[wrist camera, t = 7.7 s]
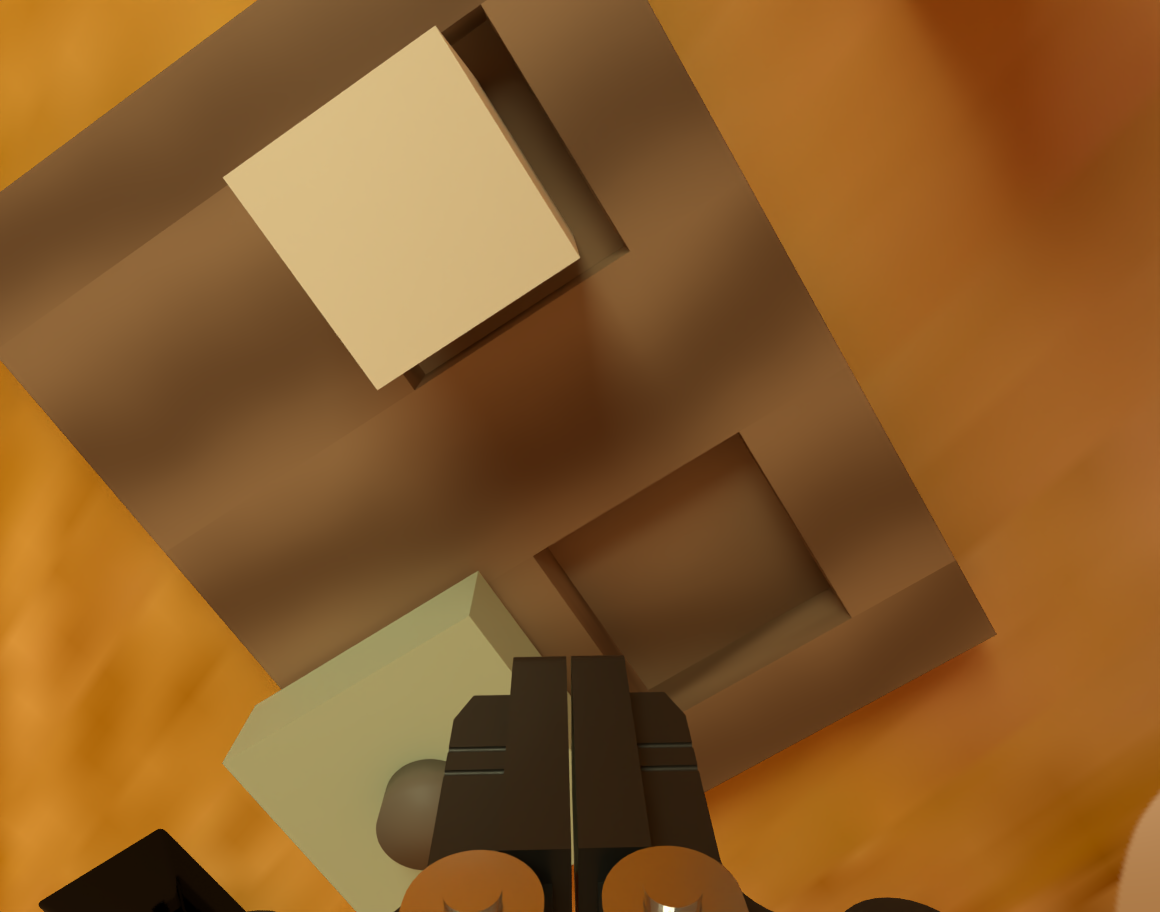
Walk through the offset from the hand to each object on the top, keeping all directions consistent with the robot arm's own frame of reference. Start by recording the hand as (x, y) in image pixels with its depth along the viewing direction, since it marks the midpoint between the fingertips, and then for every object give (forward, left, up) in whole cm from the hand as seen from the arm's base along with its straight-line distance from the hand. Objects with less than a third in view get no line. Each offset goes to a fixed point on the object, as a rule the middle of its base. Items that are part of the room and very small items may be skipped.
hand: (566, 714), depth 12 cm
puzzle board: (-1, -1, -14) cm, 14 cm away
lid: (+5, -7, -11) cm, 15 cm away
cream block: (-7, +1, -14) cm, 15 cm away
